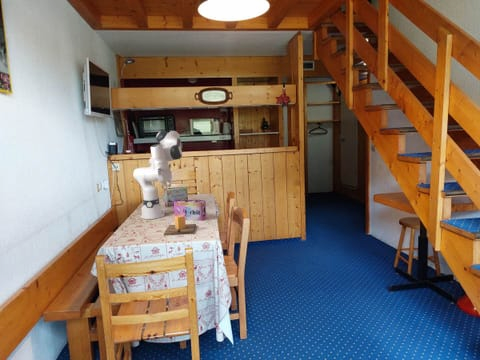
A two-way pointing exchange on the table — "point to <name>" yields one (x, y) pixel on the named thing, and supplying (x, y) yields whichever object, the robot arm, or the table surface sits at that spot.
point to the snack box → (175, 195)
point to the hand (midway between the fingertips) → (167, 187)
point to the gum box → (190, 209)
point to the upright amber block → (180, 222)
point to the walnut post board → (180, 230)
